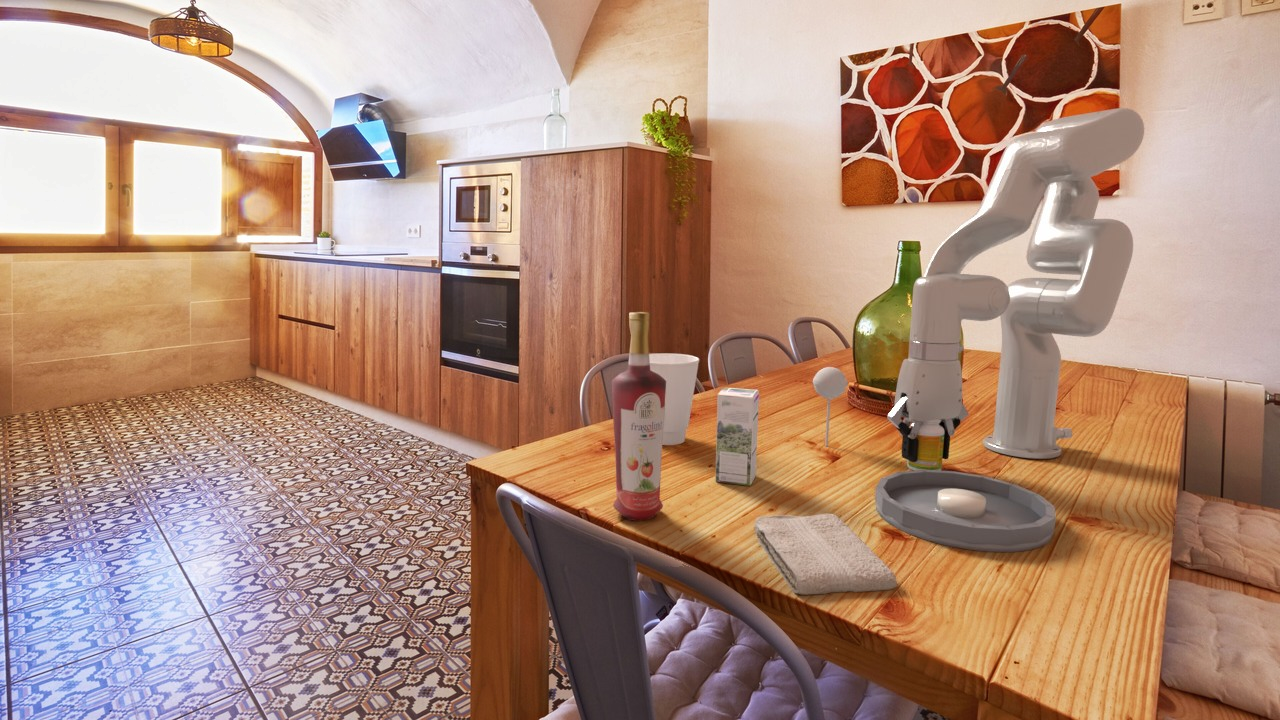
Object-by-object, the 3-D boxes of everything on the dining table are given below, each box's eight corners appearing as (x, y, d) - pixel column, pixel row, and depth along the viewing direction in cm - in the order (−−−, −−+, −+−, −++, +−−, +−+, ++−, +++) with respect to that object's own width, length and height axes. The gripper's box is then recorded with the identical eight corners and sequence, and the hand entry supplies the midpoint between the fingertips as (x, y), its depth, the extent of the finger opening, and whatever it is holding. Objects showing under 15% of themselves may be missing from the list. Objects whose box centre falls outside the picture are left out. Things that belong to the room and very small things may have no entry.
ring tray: (968, 483, 107) (970, 465, 106) (1094, 541, 86) (1097, 519, 85) (845, 495, 101) (846, 476, 100) (948, 561, 80) (950, 537, 79)
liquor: (623, 528, 89) (624, 316, 84) (603, 508, 95) (603, 311, 91) (673, 519, 92) (676, 314, 87) (651, 501, 98) (653, 309, 94)
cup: (679, 452, 122) (680, 365, 119) (624, 442, 128) (624, 359, 125) (708, 437, 132) (710, 356, 129) (656, 428, 138) (656, 351, 135)
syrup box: (756, 475, 110) (760, 388, 107) (750, 487, 104) (753, 395, 102) (722, 471, 112) (724, 385, 109) (714, 483, 106) (716, 393, 104)
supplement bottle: (944, 475, 111) (949, 417, 109) (910, 472, 112) (914, 415, 110) (937, 464, 116) (941, 409, 114) (904, 462, 117) (908, 408, 115)
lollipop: (807, 448, 125) (811, 368, 123) (812, 439, 130) (815, 363, 128) (842, 452, 123) (846, 371, 120) (845, 443, 128) (849, 365, 126)
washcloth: (832, 527, 91) (833, 506, 90) (901, 595, 73) (903, 568, 73) (746, 532, 89) (747, 510, 88) (796, 602, 71) (798, 575, 71)
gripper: (960, 347, 116) (951, 448, 119) (874, 350, 112) (867, 455, 115) (993, 353, 109) (983, 461, 112) (902, 357, 105) (894, 469, 108)
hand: (924, 457), depth 113 cm, fingers closed on supplement bottle, 5 cm apart
